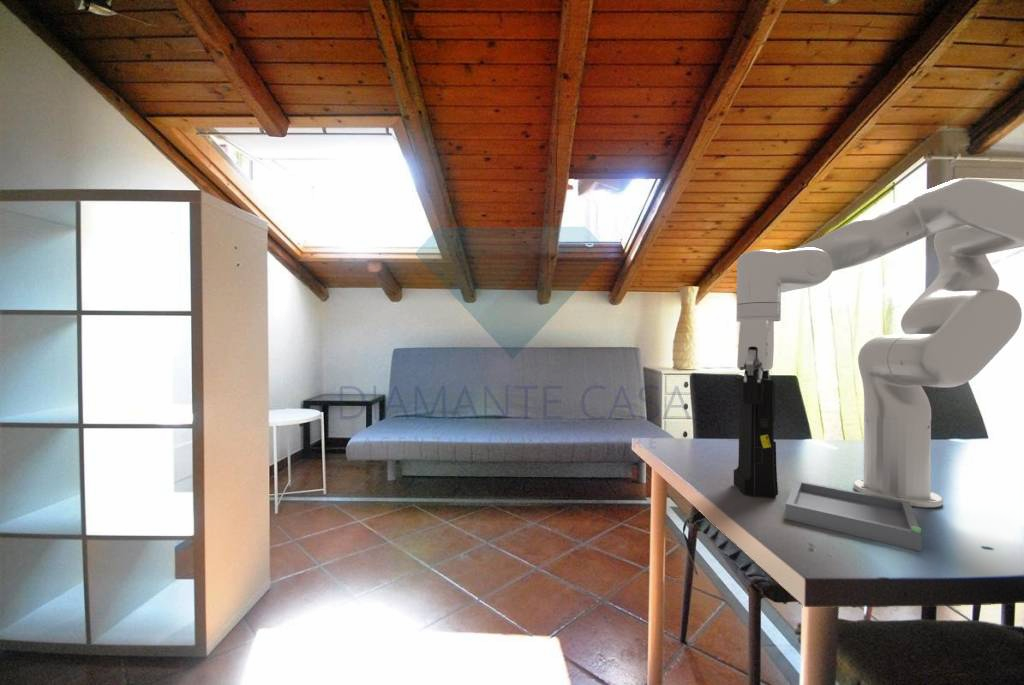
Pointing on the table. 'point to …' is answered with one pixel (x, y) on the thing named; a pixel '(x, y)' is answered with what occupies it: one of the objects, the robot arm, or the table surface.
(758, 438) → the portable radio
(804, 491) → the tray
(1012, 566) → the table surface
